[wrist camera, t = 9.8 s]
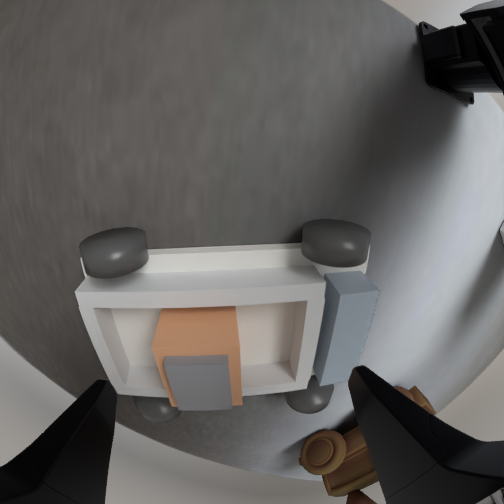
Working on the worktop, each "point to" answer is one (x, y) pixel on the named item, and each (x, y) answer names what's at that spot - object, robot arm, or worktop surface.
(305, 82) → the worktop surface
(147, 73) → the worktop surface
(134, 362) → the chassis
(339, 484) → the wooden toy train
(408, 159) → the worktop surface
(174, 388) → the tan box grey panel
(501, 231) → the milk carton
